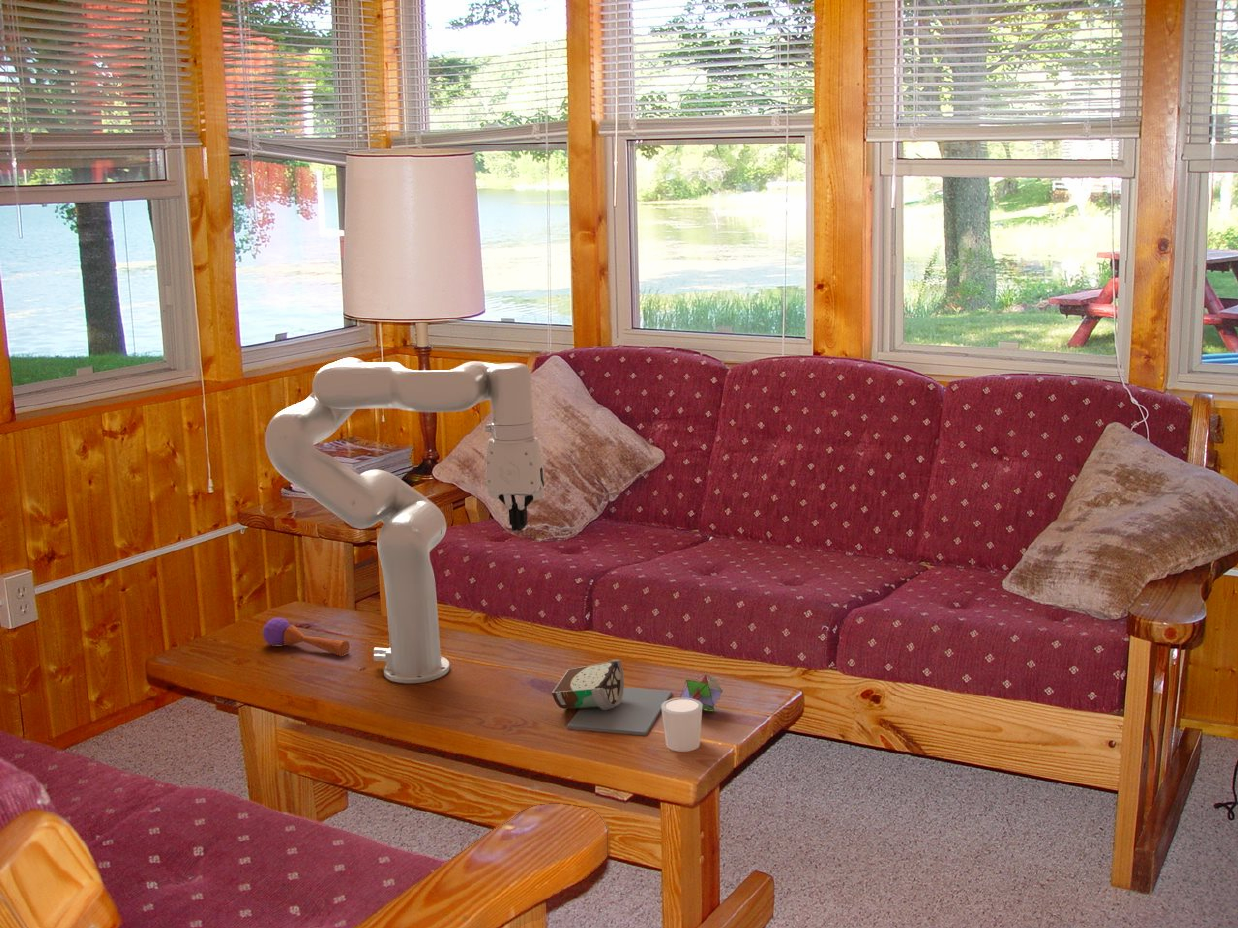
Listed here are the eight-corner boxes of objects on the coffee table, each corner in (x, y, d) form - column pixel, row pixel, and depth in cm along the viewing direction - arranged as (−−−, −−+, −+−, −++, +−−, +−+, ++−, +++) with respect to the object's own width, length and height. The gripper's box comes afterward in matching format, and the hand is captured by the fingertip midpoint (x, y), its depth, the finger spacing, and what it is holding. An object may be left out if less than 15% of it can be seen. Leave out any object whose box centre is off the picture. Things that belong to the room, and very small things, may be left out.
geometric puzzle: (705, 715, 226) (716, 670, 228) (669, 709, 229) (680, 664, 232) (720, 726, 232) (730, 682, 234) (684, 719, 235) (695, 676, 237)
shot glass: (668, 733, 224) (666, 695, 223) (708, 737, 222) (706, 698, 221) (657, 751, 218) (656, 711, 216) (698, 755, 216) (697, 715, 214)
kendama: (332, 643, 263) (254, 624, 271) (337, 669, 265) (259, 648, 274) (351, 628, 267) (273, 609, 276) (355, 653, 270) (278, 634, 278)
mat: (567, 728, 228) (566, 725, 228) (598, 688, 245) (598, 685, 245) (645, 735, 224) (645, 732, 224) (671, 693, 241) (671, 690, 241)
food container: (558, 728, 232) (611, 721, 229) (549, 696, 231) (602, 689, 227) (579, 695, 243) (630, 689, 240) (570, 665, 242) (621, 658, 239)
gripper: (466, 435, 240) (473, 532, 244) (544, 436, 236) (550, 536, 240) (482, 426, 247) (488, 521, 251) (558, 428, 243) (563, 524, 247)
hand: (518, 528), depth 245 cm, fingers closed
